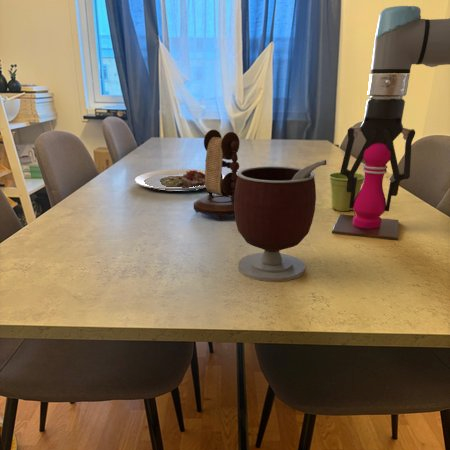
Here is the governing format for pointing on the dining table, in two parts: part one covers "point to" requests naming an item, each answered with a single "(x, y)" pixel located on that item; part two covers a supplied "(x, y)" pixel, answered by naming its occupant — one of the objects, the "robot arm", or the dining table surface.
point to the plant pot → (343, 190)
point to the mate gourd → (274, 218)
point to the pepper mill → (372, 188)
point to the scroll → (219, 174)
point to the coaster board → (383, 232)
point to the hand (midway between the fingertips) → (369, 207)
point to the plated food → (177, 179)
